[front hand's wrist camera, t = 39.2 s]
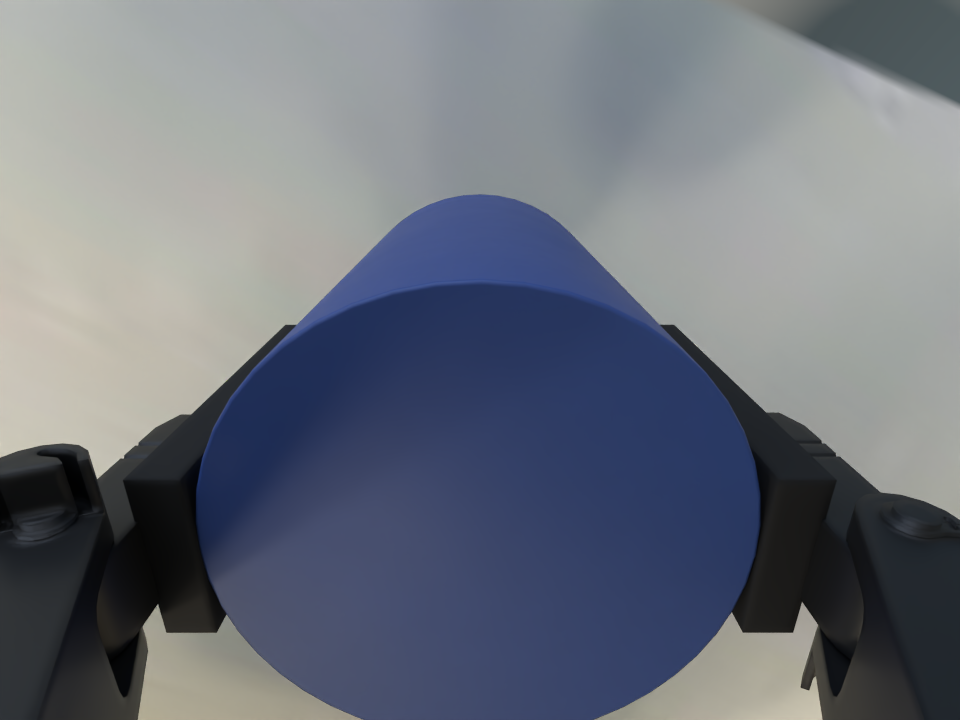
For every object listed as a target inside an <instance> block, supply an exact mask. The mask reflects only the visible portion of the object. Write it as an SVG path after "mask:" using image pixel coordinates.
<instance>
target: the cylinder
mask: <svg viewBox="0 0 960 720" xmlns="http://www.w3.org/2000/svg"><path fill="white" fill-rule="evenodd" d="M196 527H197V534H198V540H199V546H200V550H201V554H202V558H203V562H204V566H205V569H206V572H207V575H208V579H209V581H210V583H211V585H212V587H213V589H214V592H215V594H216V596H217V598H218V600H219V602H220V604H221V606H222V608H223V609H224V611H225V612H226V614H227V615H228V617H229V618H230V620H231V621H232V623H233V624H234V626H235V627H236V629H237V630H238V632H239V633H240V634H241V635H242V636H243V637H244V638H245V640H246V641H247V642H248V643H249V644H250V645H251V646H252V648H253V649H254V650H255V651H256V652H257V653H258V654H259V655H260V656H261V657H262V658H263V659H264V660H265V661H267V662H268V663H269V664H270V665H271V666H272V667H273V668H274V669H275V670H277V671H278V672H279V673H280V674H281V675H283V676H284V677H286V678H287V679H288V680H290V681H291V682H293V683H294V684H295V685H297V686H298V687H300V688H301V689H302V690H304V691H306V692H307V693H309V694H311V695H313V696H314V697H316V698H318V699H320V700H321V701H323V702H325V703H327V704H329V705H330V706H333V707H335V708H337V709H339V710H342V711H344V712H346V713H349V714H351V715H353V716H355V717H358V718H361V719H364V720H594V719H597V718H599V717H601V716H604V715H606V714H608V713H611V712H613V711H615V710H618V709H620V708H622V707H625V706H626V705H628V704H630V703H632V702H634V701H635V700H637V699H639V698H641V697H643V696H645V695H646V694H648V693H650V692H651V691H653V690H654V689H656V688H657V687H659V686H660V685H662V684H663V683H664V682H666V681H667V680H669V679H670V678H672V677H673V676H674V675H676V674H677V673H678V672H679V671H680V670H681V669H682V668H684V667H685V666H686V665H687V664H688V663H689V662H690V661H692V660H693V659H694V658H695V657H696V656H697V655H698V654H699V653H700V652H701V651H702V650H703V648H704V647H705V646H706V645H707V644H708V643H709V642H710V641H711V640H712V638H713V637H714V636H715V635H716V634H717V632H718V631H719V630H720V628H721V627H722V625H723V624H724V622H725V621H726V619H727V618H728V616H729V615H730V614H731V612H732V611H733V609H734V607H735V605H736V603H737V601H738V599H739V597H740V595H741V593H742V591H743V589H744V587H745V585H746V583H747V580H748V577H749V574H750V571H751V568H752V565H753V561H754V558H755V555H756V549H757V543H758V537H759V531H760V489H759V483H758V477H757V471H756V465H755V461H754V458H753V455H752V452H751V449H750V446H749V443H748V440H747V437H746V435H745V432H744V430H743V428H742V426H741V424H740V422H739V420H738V419H737V417H736V415H735V413H734V411H733V409H732V407H731V406H730V404H729V402H728V400H727V399H726V398H725V396H724V395H723V394H722V393H721V391H720V390H719V389H718V387H717V386H716V385H715V383H714V382H713V381H712V380H711V378H710V377H709V376H708V374H707V373H706V372H705V371H704V370H703V369H702V368H701V367H700V366H699V365H698V364H697V363H696V362H695V361H694V360H693V359H692V358H691V357H690V356H689V355H688V353H687V352H686V351H685V350H684V349H683V348H682V347H681V346H680V345H679V344H678V343H677V342H676V341H675V340H674V339H673V338H672V337H671V336H670V335H669V334H668V333H667V332H666V331H665V330H664V329H663V328H662V327H661V326H660V325H659V324H658V323H657V322H656V321H655V320H654V319H653V318H652V317H651V315H650V314H649V313H648V312H647V311H646V310H645V309H644V308H643V307H642V306H641V305H640V304H639V303H638V302H637V301H636V300H635V299H634V298H633V297H632V296H631V295H630V294H629V293H628V292H627V291H626V290H625V289H624V288H623V287H622V286H621V285H620V284H619V283H618V282H617V281H616V280H615V279H614V278H613V276H612V275H611V274H610V273H609V272H608V271H607V270H606V269H605V268H604V267H603V266H602V265H601V264H600V263H599V262H598V261H597V260H596V259H595V258H594V257H593V256H592V255H591V254H590V253H589V252H588V251H587V250H586V249H585V248H584V247H583V246H582V245H581V244H580V243H579V242H578V241H577V240H576V239H575V237H574V236H573V235H572V234H571V233H569V232H568V231H567V230H566V229H565V228H564V227H563V226H562V225H561V224H560V223H559V222H557V221H556V220H555V219H553V218H552V217H550V216H549V215H548V214H546V213H544V212H543V211H541V210H539V209H537V208H535V207H533V206H531V205H529V204H526V203H523V202H520V201H518V200H515V199H510V198H506V197H501V196H494V195H481V194H479V195H463V196H458V197H453V198H448V199H444V200H441V201H438V202H435V203H432V204H430V205H428V206H426V207H424V208H422V209H420V210H418V211H416V212H414V213H412V214H411V215H410V216H408V217H407V218H405V219H404V220H402V221H401V222H400V223H399V224H398V225H396V226H395V227H394V228H393V229H392V230H391V231H390V232H389V233H388V234H387V235H386V236H385V237H384V238H383V239H382V240H381V241H380V242H379V243H378V244H377V245H376V246H375V247H374V248H373V249H372V250H371V251H370V252H369V253H368V254H367V255H366V256H365V257H364V258H363V259H362V260H361V261H360V262H359V263H358V264H357V265H356V266H355V267H354V268H353V269H352V270H351V271H350V272H349V273H348V274H347V275H346V276H345V277H344V278H343V279H342V280H341V281H340V282H339V283H338V284H337V285H336V286H335V287H334V288H333V289H332V290H331V291H330V292H329V293H328V294H327V295H326V296H325V297H324V298H323V299H322V300H321V301H320V302H319V303H318V304H317V305H316V306H315V307H314V308H313V309H312V310H311V311H310V312H309V313H308V314H307V315H306V316H305V317H304V318H303V319H302V320H301V321H300V322H299V323H298V324H297V325H296V326H295V327H294V328H293V329H292V330H291V331H290V332H289V333H288V334H287V335H286V336H285V337H284V338H283V339H282V340H281V341H280V342H279V343H278V344H277V345H276V346H275V347H274V348H273V349H272V351H271V352H270V353H269V354H268V355H267V356H266V357H265V358H264V359H263V360H262V361H261V362H260V363H259V364H258V365H257V366H256V367H255V368H254V369H253V370H252V371H251V372H250V373H249V375H248V376H247V377H246V379H245V380H244V381H243V382H242V384H241V385H240V386H239V387H238V389H237V390H236V391H235V392H234V394H233V395H232V396H231V397H230V399H229V401H228V403H227V404H226V406H225V408H224V410H223V411H222V413H221V415H220V417H219V418H218V420H217V422H216V424H215V426H214V427H213V430H212V433H211V436H210V438H209V441H208V444H207V447H206V449H205V452H204V455H203V458H202V462H201V468H200V473H199V479H198V484H197V489H196Z"/></svg>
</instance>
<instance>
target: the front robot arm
mask: <svg viewBox="0 0 960 720" xmlns="http://www.w3.org/2000/svg"><path fill="white" fill-rule="evenodd" d="M295 326H296V325H285V326H284V327H283V328H282V329H281V330H280V331H279V332H278V333H277V334H276V335H274V336H273V337H272V338H271V339H270V340H269V341H268V342H267V343H266V344H265V345H264V346H263V347H262V348H261V349H260V350H259V351H258V352H257V353H256V354H255V355H253V356H252V357H251V358H250V359H249V360H248V361H247V362H246V363H245V364H244V365H243V366H242V367H241V368H240V369H239V370H238V371H237V372H236V373H235V374H234V375H232V376H231V377H230V378H229V379H228V380H227V381H226V382H225V383H224V384H223V385H222V386H221V387H220V388H219V389H218V390H217V391H216V392H215V393H214V394H213V395H211V396H210V397H209V398H208V399H207V400H206V401H205V402H204V403H203V404H202V405H201V406H200V407H199V408H198V409H197V410H196V411H195V412H194V413H193V414H191V415H179V416H177V417H175V418H173V419H171V420H169V421H168V422H166V423H164V424H162V425H160V426H158V427H156V428H155V429H154V430H152V431H151V432H150V433H149V434H148V435H147V436H146V437H145V438H143V439H142V440H141V441H140V442H139V445H138V446H134V447H133V448H132V449H131V450H130V451H129V452H128V453H126V454H125V455H124V459H120V460H119V461H117V462H116V463H115V464H114V465H113V466H112V467H111V468H110V469H108V470H107V471H106V472H105V473H104V474H103V475H102V476H101V477H99V478H98V479H97V478H96V475H95V472H94V468H93V465H92V462H91V459H90V455H89V452H88V450H86V449H84V448H83V447H81V446H79V445H72V444H53V445H43V446H38V447H34V448H30V449H25V450H21V451H17V452H15V453H12V454H9V455H7V456H4V457H1V458H0V720H138V713H139V707H140V700H141V694H142V687H143V680H144V674H145V667H146V660H147V654H148V648H147V641H146V637H145V634H144V630H143V627H142V626H143V625H144V623H145V622H146V620H147V619H148V617H149V616H150V615H151V613H152V612H153V610H154V609H155V607H156V606H157V604H158V605H159V608H160V612H161V615H162V619H163V622H164V625H165V629H166V632H167V633H217V631H218V629H219V627H220V625H221V624H222V622H223V620H224V618H225V616H226V612H225V611H224V609H223V608H222V606H221V604H220V602H219V600H218V598H217V596H216V594H215V592H214V589H213V587H212V585H211V583H210V581H209V579H208V575H207V572H206V569H205V566H204V562H203V558H202V554H201V550H200V546H199V540H198V534H197V527H196V489H197V484H198V479H199V473H200V468H201V462H202V458H203V455H204V452H205V449H206V447H207V444H208V441H209V438H210V436H211V433H212V430H213V427H214V426H215V424H216V422H217V420H218V418H219V417H220V415H221V413H222V411H223V410H224V408H225V406H226V404H227V403H228V401H229V399H230V397H231V396H232V395H233V394H234V392H235V391H236V390H237V389H238V387H239V386H240V385H241V384H242V382H243V381H244V380H245V379H246V377H247V376H248V375H249V373H250V372H251V371H252V370H253V369H254V368H255V367H256V366H257V365H258V364H259V363H260V362H261V361H262V360H263V359H264V358H265V357H266V356H267V355H268V354H269V353H270V352H271V351H272V349H273V348H274V347H275V346H276V345H277V344H278V343H279V342H280V341H281V340H282V339H283V338H284V337H285V336H286V335H287V334H288V333H289V332H290V331H291V330H292V329H293V328H294V327H295ZM660 326H661V327H662V328H663V329H664V330H665V331H666V332H667V333H668V334H669V335H670V336H671V337H672V338H673V339H674V340H675V341H676V342H677V343H678V344H679V345H680V346H681V347H682V348H683V349H684V350H685V351H686V352H687V353H688V355H689V356H690V357H691V358H692V359H693V360H694V361H695V362H696V363H697V364H698V365H699V366H700V367H701V368H702V369H703V370H704V371H705V372H706V373H707V374H708V376H709V377H710V378H711V380H712V381H713V382H714V383H715V385H716V386H717V387H718V389H719V390H720V391H721V393H722V394H723V395H724V396H725V398H726V399H727V400H728V402H729V404H730V406H731V407H732V409H733V411H734V413H735V415H736V417H737V419H738V420H739V422H740V424H741V426H742V428H743V430H744V432H745V435H746V437H747V440H748V443H749V446H750V449H751V452H752V455H753V458H754V461H755V465H756V471H757V477H758V483H759V489H760V531H759V537H758V543H757V549H756V555H755V558H754V561H753V565H752V568H751V571H750V574H749V577H748V580H747V583H746V585H745V587H744V589H743V591H742V593H741V595H740V597H739V599H738V601H737V603H736V605H735V607H734V609H733V611H732V613H733V615H734V617H735V619H736V620H737V622H738V624H739V626H740V628H741V630H742V632H743V633H793V631H794V627H795V624H796V621H797V617H798V614H799V610H800V607H801V603H802V602H803V603H804V605H805V606H806V608H807V609H808V611H809V612H810V613H811V615H812V616H813V618H814V619H815V621H816V622H817V624H818V627H817V630H816V634H815V637H814V640H813V643H812V646H811V650H810V653H809V656H808V659H807V663H806V666H805V669H804V672H803V676H802V682H801V688H803V689H806V690H809V689H810V686H811V683H812V680H813V678H814V677H815V676H816V679H817V685H818V692H819V698H820V705H821V712H822V718H823V720H960V520H959V519H957V518H956V517H954V516H953V515H951V514H950V513H948V512H947V511H945V510H942V509H940V508H938V507H936V506H933V505H931V504H929V503H926V502H924V501H921V500H917V499H914V498H910V497H907V496H903V495H897V494H888V493H880V492H879V491H878V490H877V489H876V488H875V487H874V486H872V485H871V484H870V483H869V482H868V481H867V480H866V479H865V478H863V477H862V476H861V475H860V474H859V473H858V472H857V471H855V470H854V469H853V468H852V467H851V466H850V465H849V464H847V463H846V462H845V461H844V460H843V459H842V458H841V457H836V453H835V452H834V451H833V450H832V449H830V448H829V447H828V446H827V445H826V444H822V443H821V440H820V439H819V438H818V437H817V436H816V435H814V434H813V433H812V432H811V431H810V430H809V429H808V428H807V427H805V426H804V425H802V424H800V423H798V422H796V421H794V420H792V419H790V418H788V417H787V416H785V415H783V414H781V413H766V412H765V411H764V410H763V409H762V408H761V407H760V406H759V405H758V404H757V403H755V402H754V401H753V400H752V399H751V398H750V397H749V396H748V395H747V394H746V393H745V392H744V391H743V390H742V389H741V388H740V387H739V386H738V385H737V384H736V383H734V382H733V381H732V380H731V379H730V378H729V377H728V376H727V375H726V374H725V373H724V372H723V371H722V370H721V369H720V368H719V367H718V366H717V365H716V364H715V363H713V362H712V361H711V360H710V359H709V358H708V357H707V356H706V355H705V354H704V353H703V352H702V351H701V350H700V349H699V348H698V347H697V346H696V345H695V344H694V343H692V342H691V341H690V340H689V339H688V338H687V337H686V336H685V335H684V334H683V333H682V332H681V331H680V330H679V329H678V328H677V327H676V326H675V325H660Z"/></svg>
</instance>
